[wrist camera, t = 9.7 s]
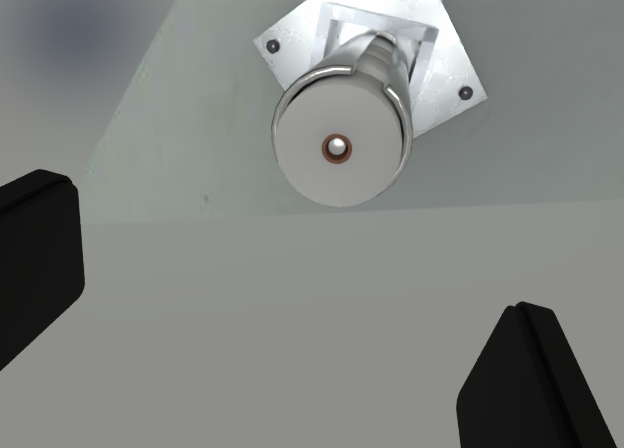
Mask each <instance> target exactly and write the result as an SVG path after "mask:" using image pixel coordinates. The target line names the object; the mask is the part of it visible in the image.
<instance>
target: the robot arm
mask: <svg viewBox="0 0 624 448" xmlns="http://www.w3.org/2000/svg"><path fill="white" fill-rule="evenodd" d="M84 286H85V277H84V264H83V251H82V237H81V224H80V211H79V198H78V190H77V188H76V187H75V186H74V185H73V184H72V181H71V180H70V179H69V177H67V176H64V175H61V174H57V173H54V172H50V171H47V170H41V169H38V170H35V171H33V172H31V173H28V174H26V175H24V176H22V177H20V178H18V179H16V180H14V181H12V182H10V183H8V184H5V185H3V186H1V187H0V371H1V370H2V369H3V368H4V367H5V366H6V365H8V364H9V363H10V362H11V361H12V360H13V359H14V358H15V357H16V356H17V355H18V354H19V353H20V352H21V351H23V350H24V349H25V348H26V347H27V346H28V345H29V344H30V343H31V342H32V341H33V340H34V339H35V338H36V337H37V336H39V335H40V334H41V333H42V332H43V331H44V330H45V329H46V328H47V327H48V326H49V325H50V324H52V323H53V321H55V320H56V319H57V318H58V317H59V316H60V315H61V314H62V313H63V312H64V311H65V310H66V309H68V308H69V307H70V306H71V305H72V304H73V303H74V302H75V301H76V300H77V299H78V298H79V297H80V295H81V294H82V292H83V290H84ZM456 410H457V411H456V412H457V420H458V428H459V436H460V445H461V448H617V447H616V444H615V442H614V440H613V438H612V436H611V434H610V431H609V429H608V427H607V425H606V423H605V421H604V419H603V416H602V414H601V412H600V410H599V408H598V406H597V404H596V401H595V399H594V397H593V395H592V393H591V390H590V388H589V386H588V384H587V382H586V380H585V378H584V375H583V373H582V371H581V369H580V367H579V365H578V363H577V360H576V358H575V356H574V354H573V352H572V350H571V347H570V345H569V343H568V341H567V339H566V337H565V335H564V332H563V330H562V328H561V326H560V324H559V322H558V320H557V317H556V315H555V313H554V312H553V310H551V309H548V308H545V307H541V306H537V305H534V304H530V303H526V302H523V301H522V302H519V303H518V304H517V305H516V306H515V307H514V306H508V307H507V308H506V309H505V310H504V312H503V314H502V316H501V317H500V319H499V321H498V323H497V325H496V327H495V329H494V330H493V332H492V334H491V336H490V338H489V340H488V341H487V343H486V345H485V347H484V349H483V350H482V352H481V354H480V356H479V358H478V359H477V362H476V363H475V365H474V367H473V369H472V370H471V372H470V374H469V376H468V378H467V379H466V381H465V383H464V385H463V387H462V389H461V390H460V392H459V395H458V398H457V406H456Z"/></svg>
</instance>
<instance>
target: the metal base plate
mask: <svg viewBox="0 0 624 448" xmlns="http://www.w3.org/2000/svg"><path fill="white" fill-rule="evenodd" d="M367 30H380V31H383V32H386V33H389V34H390V35H392V36H393V37H395V38H396V39H397V40H398V42H399V43H400V44H401V45H402V47H403V49H404V52H405V54H406V59H407V67H408V78H409V90H410V101H411V113H412V125H413V139H414V138H415V137H417V136H419V135H421V134H423V133H425V132H426V131H428V130H430V129H432V128H434V127H436V126H437V125H439V124H441V123H443V122H445V121H447V120H448V119H450V118H452V117H454V116H456V115H458V114H459V113H461V112H463V111H465V110H467V109H469V108H470V107H472V106H474V105H476V104H478V103H480V102H481V101H483V100H485V99H487V98H488V97H487V95H486V93H485V91H484V89H483V87H482V85H481V83H480V81H479V78H478V76H477V74H476V72H475V70H474V68H473V66H472V64H471V62H470V60H469V58H468V56H467V54H466V52H465V50H464V47H463V45H462V43H461V41H460V39H459V37H458V35H457V33H456V31H455V29H454V27H453V25H452V23H451V21H450V19H449V16H448V14H447V12H446V10H445V8H444V6H443V4H442V2H441V0H306V1H305V2H303V3H302V4H301V5H299V6H298V7H297V8H295V9H294V10H293V11H291V12H290V13H289V14H288V15H286V16H285V17H284V18H282V19H281V20H280V21H278V22H277V23H276V24H274V25H273V26H272V27H270V28H269V29H268V30H266V31H265V32H264V33H262V34H261V35H260V36H258V37H257V38H256V39H254V40H253V42H254V43H255V45H256V47H257V48H258V50H259V51H260V53H261V54H262V56H263V58H264V59H265V61H266V62H267V64H268V65H269V67H270V69H271V70H272V72H273V73H274V75H275V76H276V78H277V79H278V81H279V83H280V84H281V86H282V87H283V89H284V90H285V91H286V90H287V89H288V88H289V87H290V86H291V85H292V84H293V83H294V82H295V81H296V80H297V79H298V78H299V77H300V76H301V75H303V74H304V73H305V72H307V71H308V70H309V69H311V68H312V67H313V66H315V65H316V64H317V63H319V62H320V61H321V60H322V59H324V58H325V57H326V56H328V55H329V54H330V53H332V52H333V51H334V50H336V49H337V48H338V47H340V46H341V45H342V44H343V43H345V42H346V41H347V40H349V39H350V38H351V37H353V36H355V35H356V34H358V33H360V32H363V31H367Z"/></svg>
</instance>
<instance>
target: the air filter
mask: <svg viewBox="0 0 624 448" xmlns="http://www.w3.org/2000/svg"><path fill="white" fill-rule="evenodd" d="M271 129H272V146H273V149H274V153H275V156H276V160H277V162H278V164H279V167H280V169H281V171H282V172H283V174H284V176H285V177H286V179H287V181H288V182H289V183H290V184H291V185H292V186H293V187H294V188H295V189H296V190H297V191H298V192H299V193H300V194H302V195H303V196H305V197H307V198H308V199H310V200H311V201H314V202H317V203H320V204H323V205H326V206H334V207H342V208H343V207H348V206H354V205H359V204H361V203H363V202H365V201H368V200H370V199H372V198H374V197H375V196H378V195H380V194H381V193H382V192H384V191H385V190H386V189H387V188H389V187H390V186H391V185H393V184H394V182H395V181H396V180H397V178H398V177H399V176H400V175H401V173H402V172H403V171H404V169H405V166H406V164H407V162H408V159H409V157H410V154H411V150H412V141H413V125H412V113H411V101H410V90H409V78H408V67H407V59H406V54H405V52H404V49H403V47H402V45H401V44H400V43H399V42H398V40H397V39H396V38H395V37H393V36H392V35H390V34H389V33H386V32H383V31H380V30H367V31H363V32H360V33H358V34H356V35H355V36H353V37H351V38H350V39H349V40H347V41H346V42H345V43H343V44H342V45H341V46H340V47H338V48H337V49H336V50H334V51H333V52H332V53H330V54H329V55H328V56H326V57H325V58H324V59H322V60H321V61H320V62H319V63H317V64H316V65H315V66H313V67H312V68H311V69H309V70H308V71H307V72H305V73H304V74H303V75H301V76H300V77H299V78H298V79H297V80H296V81H295V82H294V83H293V84H292V85H291V86H290V87H289V88H288V89H287V90H286V91H285V92H284V94H283V95H282V97H281V99H280V101H279V103H278V105H277V106H276V109H275V113H274V117H273V121H272V125H271Z"/></svg>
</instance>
